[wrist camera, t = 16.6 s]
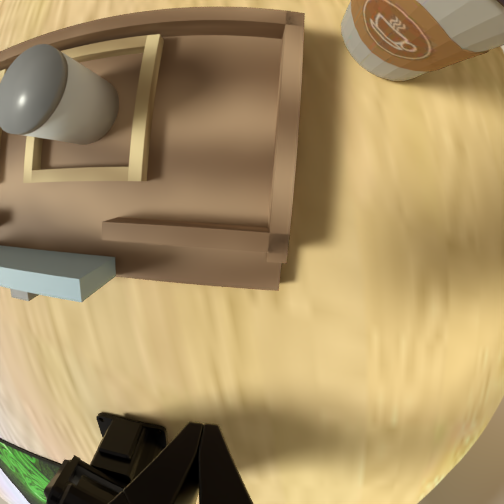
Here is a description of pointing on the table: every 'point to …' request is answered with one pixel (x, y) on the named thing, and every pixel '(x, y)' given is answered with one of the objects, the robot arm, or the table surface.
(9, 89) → the pin
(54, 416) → the table surface
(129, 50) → the tray
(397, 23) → the coffee cup
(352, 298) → the table surface
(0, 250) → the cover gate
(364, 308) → the table surface
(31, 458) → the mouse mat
